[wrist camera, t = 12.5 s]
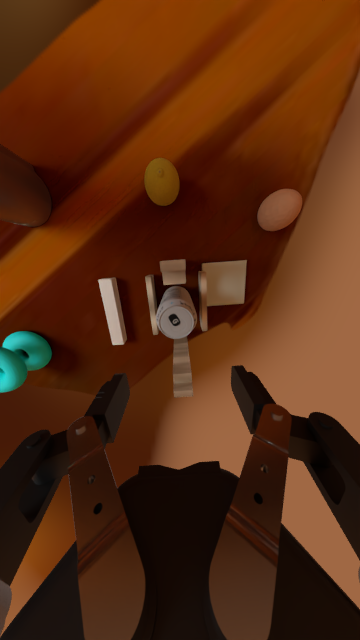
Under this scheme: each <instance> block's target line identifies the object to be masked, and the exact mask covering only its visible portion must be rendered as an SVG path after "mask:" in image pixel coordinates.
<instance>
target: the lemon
mask: <svg viewBox="0 0 360 640" xmlns="http://www.w3.org/2000/svg"><path fill="white" fill-rule="evenodd" d="M144 183H145V189H146V192H147V194H148V196H149V198H150V199H151V200H152V201H153V202H154V203H156V204H157V205H160V206H167V205H169V204H171V203H173V201H174V200H175V199H176V197H177V195H178V192H179V186H180V182H179V176H178V173H177V171H176V169H175V167H174V166H173V164H172V163H171V162H170V161H168V160H166V159H164V158H156V159H154V160H152V161H151V162H150V163H149V165H148V166H147V168H146V171H145V177H144Z"/></svg>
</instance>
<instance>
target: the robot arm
mask: <svg viewBox="0 0 360 640" xmlns="http://www.w3.org/2000/svg"><path fill="white" fill-rule="evenodd" d="M51 208H52V203H51V197H50V194H49V191H48V189H47V187H46V185H45V184H44V182H43V181H42V179H41V178H40V177H39V176H38V175H37V174H36V173H35V171H34V168H33V165H31V164H30V163H28V162H27V161H25V160H24V159H22V158H21V157H19V156H18V155H16V154H15V153H13V152H12V151H10V150H9V149H7V148H6V147H4V146H3V145H1V144H0V220H3V221H7V222H11V223H15V224H19V225H24V226H29V227H36V226H40V225H42V224H44V223H45V222H46V221H47V220H48V218H49V216H50V213H51ZM231 387H232V391H233V394H234V396H235V398H236V400H237V403H238V405H239V408H240V410H241V412H242V415H243V417H244V419H245V422H246V424H247V426H248V429H249V431H250V434H254V435H253V437H252V440H251V443H250V446H249V450H248V453H247V456H246V459H245V462H244V465H243V469H242V472H241V475H240V478H239V477H237V476H236V475H234V474H233V473H231V472H229V471H227V470H224V469H221V468H220V465H219V461H212V462H199V463H196V464H193V465H191V466H188V467H186V468H183V469H180V470H177V469H173V468H169V467H165V466H161V465H149V466H139V471H138V474H137V475H135V476H133V477H131V478H130V479H128V480H126V481H125V482H124V483H123V484H122V485H121V486H119V488H118V489H117V486H116V483H115V480H114V477H113V474H112V471H111V468H110V465H109V462H108V459H107V456H106V454H105V450H104V449H105V446H106V444H107V443H113V442H114V439H115V436H116V433H117V431H118V428H119V425H120V422H121V419H122V417H123V414H124V411H125V408H126V405H127V402H128V399H129V395H130V390H129V385H128V380H127V376H126V374H125V373H121V374H114V376H113V378H112V380H111V381H107V382H106V383H105V384H104V385H103V386H102V387H101V389H100V390H99V392H98V394H97V395H96V397H95V399H94V400H93V402H92V404H91V405H90V407H89V409H88V410H87V412H86V414H85V415H84V417H81V418H79V419H77V420H76V421H75V422H73V423H72V424H71V425H70V427H69V428H68V430H65V431H63V432H60V433H57V434H54V435H51V434H50V432H49V431H48V430H40V431H37V432H35V433H33V434H31V435H30V436H29V437H27V438H26V439H25V440H24V441H23V442H22V443H21V444H20V445H19V446H18V448H17V449H16V450H15V451H14V452H13V454H12V455H11V456H10V457H9V459H8V460H7V461H6V462H5V464H4V465H3V466H2V467H1V469H0V635H1V633H2V630H3V628H4V624H5V619H6V616H7V614H8V611H9V608H10V604H11V598H12V592H11V588H10V585H11V583H12V581H13V579H14V576H15V574H16V572H17V570H18V568H19V566H20V564H21V562H22V560H23V558H24V556H25V554H26V552H27V550H28V548H29V545H30V543H31V541H32V539H33V537H34V535H35V532H36V531H37V529H38V527H39V525H40V523H41V521H42V518H43V516H44V514H45V512H46V510H47V508H48V506H49V504H50V502H51V500H52V498H53V496H54V494H55V492H56V490H57V488H58V485H59V483H60V481H61V479H62V477H63V476H64V475H67V474H69V482H70V491H71V500H72V508H73V516H74V525H75V534H76V541H75V542H74V544H73V545H72V546H71V547H70V549H69V550H68V551H67V553H66V554H65V555H64V556H63V557H62V559H61V560H60V561H59V563H58V564H57V565H56V566H55V568H54V569H53V570H52V571H51V573H50V574H49V575H48V576H47V578H46V579H45V580H44V581H43V583H42V584H41V585H40V586H39V588H38V589H37V590H36V592H35V593H34V594H33V595H32V597H31V598H30V599H29V600H28V602H27V603H26V604H25V605H24V607H23V608H22V609H21V610H20V612H19V613H18V614H17V615H16V617H15V618H14V619H13V621H12V622H11V623H10V625H9V626H8V627H7V629H6V630H5V631H4V633H3V634H2V636H1V637H0V640H360V609H359V608H358V607H357V606H356V604H355V603H354V602H353V601H352V600H351V599H350V598H349V597H348V596H347V595H346V593H345V592H344V591H343V590H342V589H341V588H340V587H339V586H338V585H337V584H336V583H335V582H334V580H333V579H332V578H331V577H330V576H329V575H328V574H327V573H326V572H325V571H324V569H323V568H322V567H321V566H320V565H319V564H318V563H317V562H316V561H315V559H313V557H312V556H311V555H310V554H309V553H308V552H307V551H306V550H305V549H304V547H303V546H302V545H301V544H300V543H299V542H298V541H297V540H296V539H295V537H293V535H292V534H291V533H290V532H289V531H288V530H287V529H286V528H285V526H284V525H283V524H282V523H281V519H282V510H283V501H284V492H285V483H286V474H287V464H288V457H289V458H293V459H296V460H300V461H303V462H304V464H305V466H306V467H307V469H308V471H309V472H310V474H311V476H312V478H313V480H314V481H315V483H316V485H317V487H318V488H319V490H320V492H321V494H322V495H323V497H324V499H325V501H326V502H327V504H328V506H329V508H330V509H331V511H332V513H333V515H334V516H335V518H336V520H337V522H338V523H339V525H340V527H341V528H342V530H343V532H344V534H345V535H346V537H347V539H348V541H349V542H350V544H351V546H352V548H353V549H354V551H355V553H356V554H357V556H358V558H359V560H360V444H358V442H357V441H356V440H355V439H354V438H353V437H352V436H351V435H350V434H349V433H348V432H347V430H346V429H344V427H343V426H342V425H341V424H340V423H339V422H338V421H337V420H335V419H334V418H332V417H331V416H329V415H326V414H324V413H320V412H313V413H311V414H310V415H309V418H304V417H299V416H294V415H291V414H290V413H289V412H288V411H287V410H286V409H285V408H283V407H282V406H279V405H277V404H276V403H275V401H274V400H273V399H272V397H271V396H270V394H269V393H268V391H267V390H266V388H265V387H264V386H263V384H262V383H261V381H260V380H259V378H258V377H257V376H256V375H255V374H253V373H252V372H247V371H246V370H245V368H244V367H243V366H242V365H241V366H232V373H231ZM358 576H359V582H360V567H359V571H358Z"/></svg>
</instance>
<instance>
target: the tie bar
mask: <svg viewBox="0 0 360 640" xmlns="http://www.w3.org/2000/svg"><path fill="white" fill-rule="evenodd" d="M98 281H99V286H100V290H101V295H102V299H103V304H104V308H105V313H106V317H107V322H108V326H109V331H110V335H111V340H112V344H113V345H120V344H124V343H125V342H126V340H127V335H126V330H125V325H124V319H123V314H122V309H121V303H120V298H119V293H118V287H117V282H116V278H103V279H99V280H98Z"/></svg>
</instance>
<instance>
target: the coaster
mask: <svg viewBox="0 0 360 640" xmlns="http://www.w3.org/2000/svg"><path fill="white" fill-rule="evenodd" d="M246 263H247V260H241V261H228V262H215V263H202V271H204V272H206V287H207V306H216V305H230V304H243V303H244V296H245V279H246Z"/></svg>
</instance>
